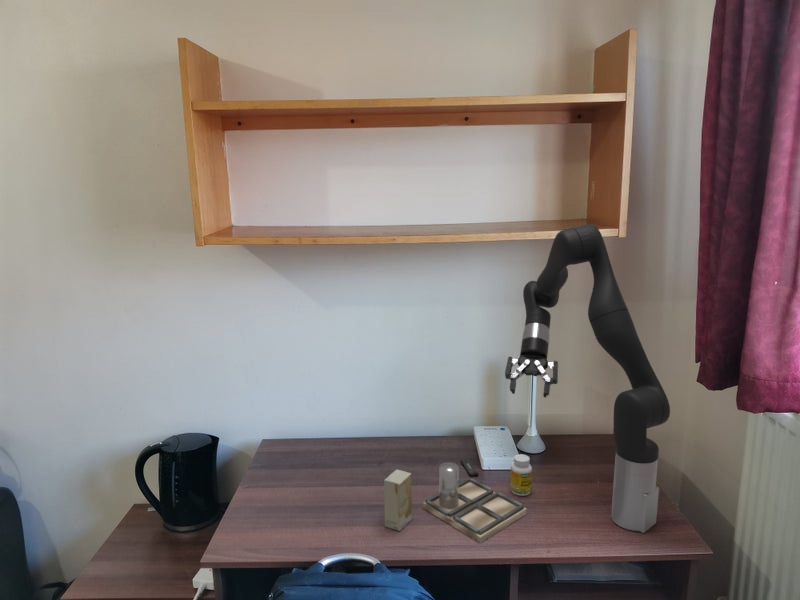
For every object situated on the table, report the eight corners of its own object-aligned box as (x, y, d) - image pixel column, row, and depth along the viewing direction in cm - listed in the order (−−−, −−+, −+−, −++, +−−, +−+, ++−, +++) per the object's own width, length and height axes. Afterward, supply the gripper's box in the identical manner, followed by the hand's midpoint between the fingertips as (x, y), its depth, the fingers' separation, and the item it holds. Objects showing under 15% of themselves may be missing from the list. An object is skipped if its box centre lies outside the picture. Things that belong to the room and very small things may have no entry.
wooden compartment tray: (526, 514, 144) (526, 505, 144) (480, 543, 134) (480, 534, 133) (469, 484, 158) (469, 476, 158) (422, 508, 148) (422, 499, 147)
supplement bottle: (520, 483, 158) (522, 450, 156) (535, 492, 154) (537, 458, 152) (506, 489, 155) (507, 456, 153) (520, 498, 151) (521, 464, 149)
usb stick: (460, 462, 171) (460, 457, 171) (468, 461, 172) (468, 456, 171) (470, 478, 162) (470, 473, 162) (479, 477, 162) (479, 472, 162)
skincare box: (400, 532, 138) (399, 484, 135) (384, 527, 140) (382, 480, 138) (412, 518, 144) (412, 472, 141) (397, 513, 146) (396, 468, 143)
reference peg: (462, 504, 146) (462, 467, 144) (449, 511, 143) (449, 474, 141) (448, 496, 150) (448, 460, 148) (435, 503, 147) (435, 466, 145)
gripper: (509, 334, 168) (501, 386, 160) (560, 338, 163) (555, 391, 155) (511, 346, 174) (504, 397, 166) (561, 350, 169) (556, 403, 161)
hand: (528, 394), depth 161 cm, fingers open, 8 cm apart
